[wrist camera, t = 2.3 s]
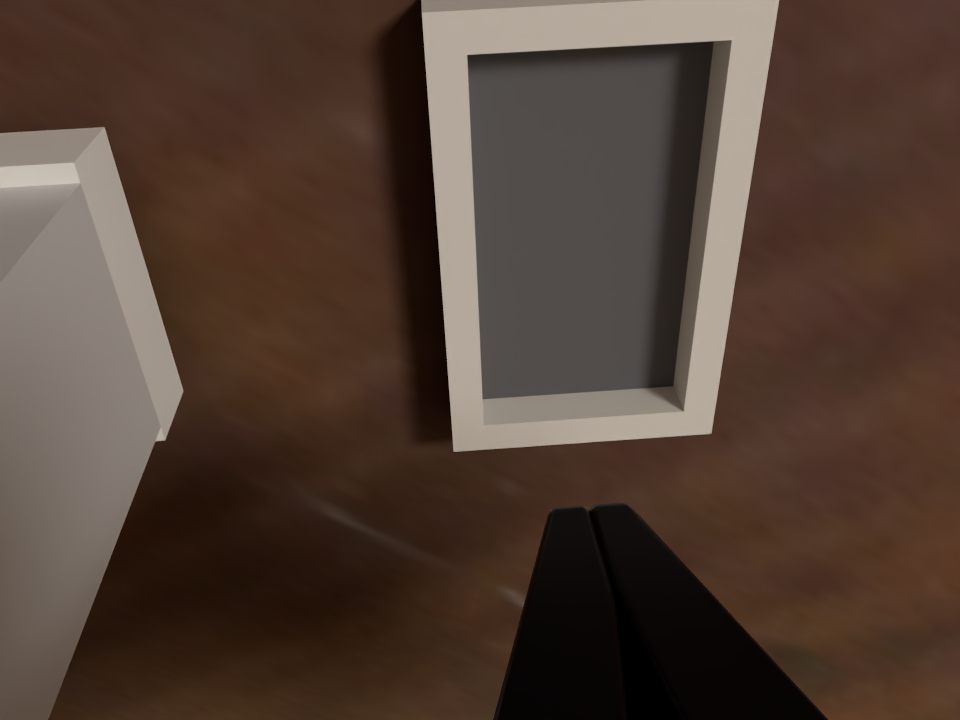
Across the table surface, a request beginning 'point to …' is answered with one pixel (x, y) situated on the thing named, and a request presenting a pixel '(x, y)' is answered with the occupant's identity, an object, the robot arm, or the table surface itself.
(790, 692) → the robot arm
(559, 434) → the tray
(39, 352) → the white l-shaped base
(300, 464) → the table surface
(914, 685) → the table surface
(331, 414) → the table surface
